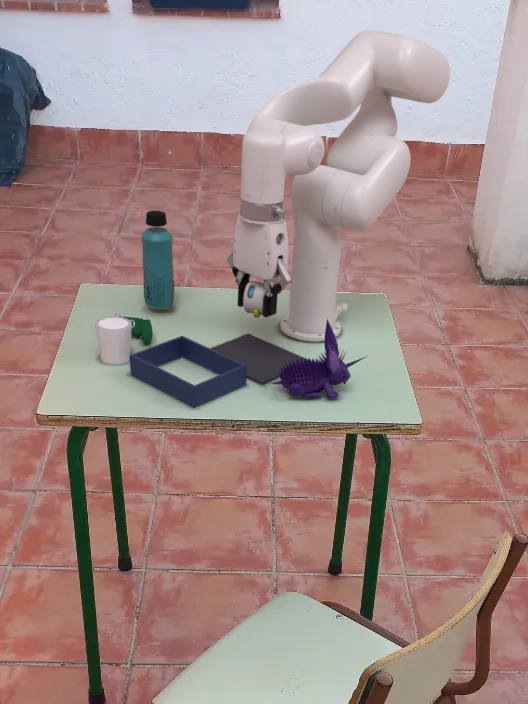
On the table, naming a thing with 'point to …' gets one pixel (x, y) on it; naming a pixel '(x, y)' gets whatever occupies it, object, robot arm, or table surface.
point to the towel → (258, 357)
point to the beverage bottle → (157, 262)
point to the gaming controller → (140, 328)
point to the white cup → (114, 339)
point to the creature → (317, 372)
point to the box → (193, 395)
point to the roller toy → (254, 298)
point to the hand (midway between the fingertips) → (256, 309)
